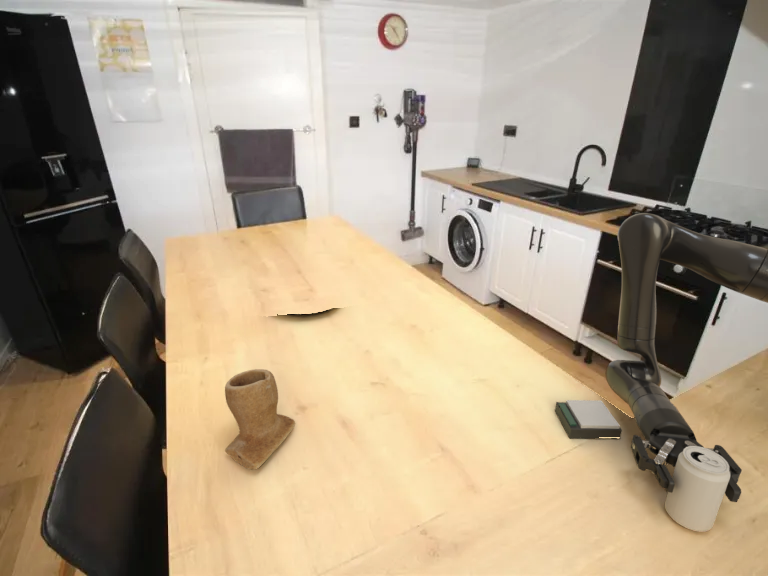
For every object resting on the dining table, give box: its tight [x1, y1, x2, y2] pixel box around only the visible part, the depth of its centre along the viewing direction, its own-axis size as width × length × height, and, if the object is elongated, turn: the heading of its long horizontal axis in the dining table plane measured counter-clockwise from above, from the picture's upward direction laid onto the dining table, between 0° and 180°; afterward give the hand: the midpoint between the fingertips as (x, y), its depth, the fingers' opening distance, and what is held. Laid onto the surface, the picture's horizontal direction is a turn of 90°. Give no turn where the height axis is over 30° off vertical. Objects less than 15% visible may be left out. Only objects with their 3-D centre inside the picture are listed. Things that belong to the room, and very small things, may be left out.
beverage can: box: [664, 446, 730, 533], centre depth 64 cm, size 6×6×12 cm
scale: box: [554, 399, 623, 440], centre depth 87 cm, size 10×9×3 cm
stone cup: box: [224, 368, 296, 470], centre depth 82 cm, size 15×12×15 cm
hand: (703, 493), depth 62 cm, fingers open, 8 cm apart
